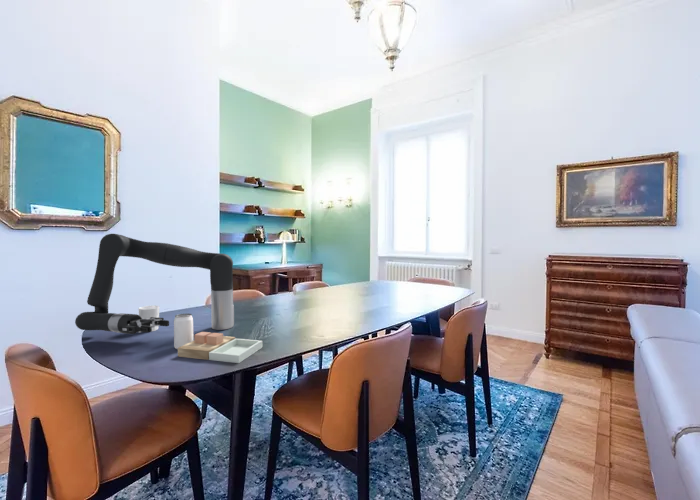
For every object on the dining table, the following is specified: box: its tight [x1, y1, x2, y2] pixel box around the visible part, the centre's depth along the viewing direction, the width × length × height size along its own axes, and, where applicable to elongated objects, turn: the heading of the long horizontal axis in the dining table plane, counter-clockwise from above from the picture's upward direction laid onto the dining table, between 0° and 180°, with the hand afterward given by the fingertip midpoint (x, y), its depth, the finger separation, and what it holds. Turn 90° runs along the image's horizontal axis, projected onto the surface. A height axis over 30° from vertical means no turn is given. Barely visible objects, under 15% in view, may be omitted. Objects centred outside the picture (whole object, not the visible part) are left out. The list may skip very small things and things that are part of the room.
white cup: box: [137, 305, 160, 332], centre depth 148 cm, size 8×8×10 cm
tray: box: [208, 337, 263, 364], centre depth 121 cm, size 16×11×2 cm
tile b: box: [207, 332, 224, 345], centre depth 122 cm, size 4×4×3 cm
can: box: [173, 312, 194, 350], centre depth 127 cm, size 6×6×12 cm
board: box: [177, 335, 236, 361], centre depth 123 cm, size 16×12×3 cm
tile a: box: [193, 331, 212, 344], centre depth 124 cm, size 4×4×3 cm
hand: (159, 326), depth 129 cm, fingers open, 8 cm apart
